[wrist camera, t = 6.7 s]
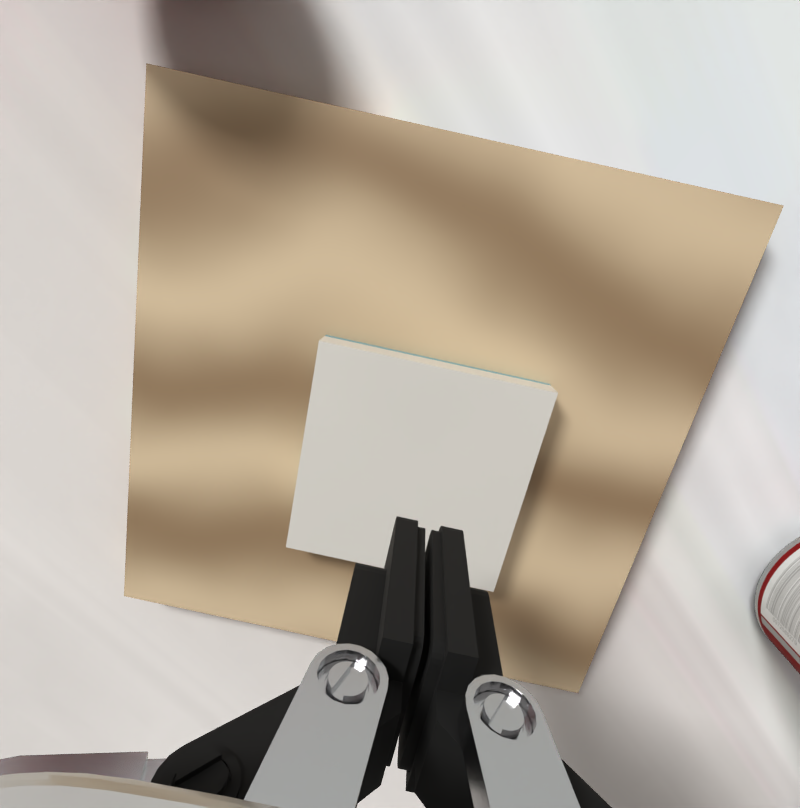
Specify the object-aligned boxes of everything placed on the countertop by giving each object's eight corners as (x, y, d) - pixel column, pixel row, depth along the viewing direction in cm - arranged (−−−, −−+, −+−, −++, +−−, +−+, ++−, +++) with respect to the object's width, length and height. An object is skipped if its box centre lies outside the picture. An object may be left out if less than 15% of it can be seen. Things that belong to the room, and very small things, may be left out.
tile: (294, 529, 19) (489, 572, 19) (285, 547, 18) (493, 592, 18) (326, 334, 17) (549, 383, 17) (318, 340, 16) (557, 392, 16)
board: (568, 665, 22) (578, 693, 21) (143, 574, 22) (124, 595, 21) (752, 209, 16) (783, 205, 15) (171, 79, 16) (146, 63, 15)
